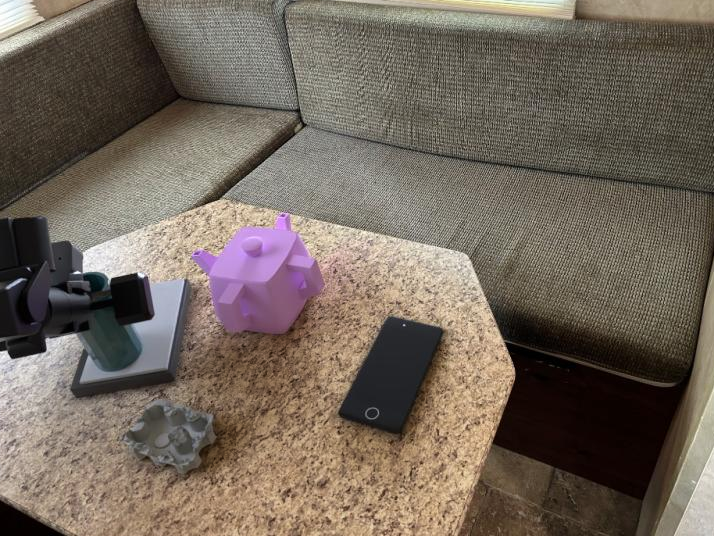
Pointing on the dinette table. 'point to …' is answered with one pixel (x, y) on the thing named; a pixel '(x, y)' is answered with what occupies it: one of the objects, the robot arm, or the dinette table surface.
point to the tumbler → (109, 333)
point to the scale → (144, 346)
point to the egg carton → (170, 435)
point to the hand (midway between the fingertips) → (99, 310)
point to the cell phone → (391, 375)
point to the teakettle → (261, 278)
